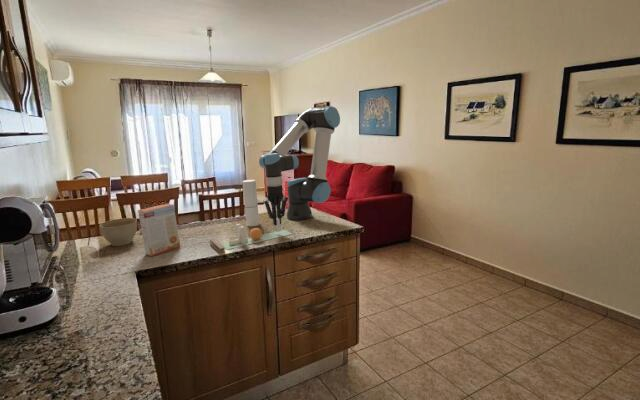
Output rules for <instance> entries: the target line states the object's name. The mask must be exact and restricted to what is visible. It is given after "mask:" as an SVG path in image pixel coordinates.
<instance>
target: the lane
mask: <svg viewBox="0 0 640 400" xmlns="http://www.w3.org/2000/svg"><path fill="white" fill-rule="evenodd" d="M291 235H293V233H292V232H290V231H288V230H287V229H282V230H281V229H280V231H279V232H277V231H273V232H269V233H264V234H263V233H262V237H261V238H260V239H259V240H253V239H251V237H250V236H249V237H247V238H248V242H246V244H245V245H241V243H240V244H236V245H232V246H230V245H229V241H228V242H223V243H220V244H221V245H222V246H223V247H224V248H225V249H226V250H231V249H235V248H240V247H244V246H248V245H253V244H257V243H261V242H266V241H270V240H273V239H278V238H283V237H287V236H291Z"/></svg>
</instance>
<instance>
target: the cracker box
mask: <svg viewBox="0 0 640 400" xmlns="http://www.w3.org/2000/svg"><path fill="white" fill-rule="evenodd" d="M137 213H138V219H139V223H140V228H141V236H142V239H143V240H142V241H143V246H144V251H145V255H147V256H149V257H153V256H157V255H160V254H162V253H163V254H164V253H166V252H169V251H172V250H175V249H178V248H181V242H180V236H179V231H178V230H179V229H178V224H177V217H176V211H175V205H174V204H172V203H164V204H160V205H154V206H151V207H147V208H141V209H138V210H137Z"/></svg>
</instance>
